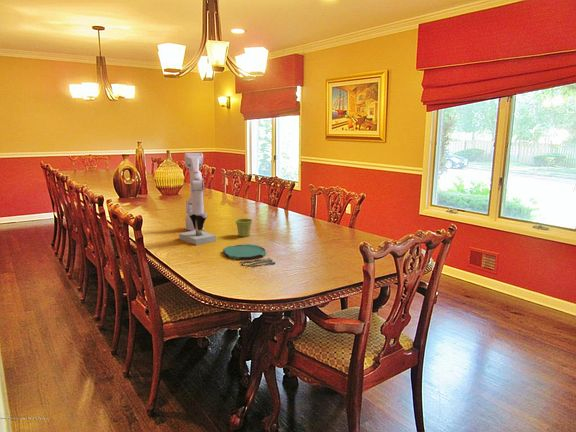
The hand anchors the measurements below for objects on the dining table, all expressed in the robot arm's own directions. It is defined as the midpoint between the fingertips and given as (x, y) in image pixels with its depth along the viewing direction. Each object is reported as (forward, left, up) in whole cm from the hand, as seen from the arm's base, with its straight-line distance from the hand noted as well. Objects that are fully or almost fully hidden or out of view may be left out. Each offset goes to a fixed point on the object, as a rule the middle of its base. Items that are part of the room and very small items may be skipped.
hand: (198, 229), depth 221 cm
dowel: (0, 0, -3) cm, 3 cm away
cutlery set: (+39, +1, -7) cm, 39 cm away
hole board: (-1, 0, -6) cm, 6 cm away
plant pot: (+8, +24, -6) cm, 26 cm away
